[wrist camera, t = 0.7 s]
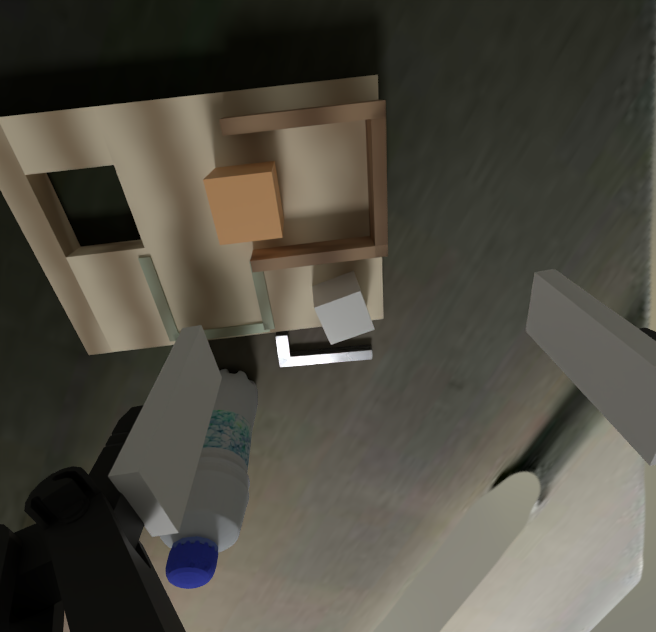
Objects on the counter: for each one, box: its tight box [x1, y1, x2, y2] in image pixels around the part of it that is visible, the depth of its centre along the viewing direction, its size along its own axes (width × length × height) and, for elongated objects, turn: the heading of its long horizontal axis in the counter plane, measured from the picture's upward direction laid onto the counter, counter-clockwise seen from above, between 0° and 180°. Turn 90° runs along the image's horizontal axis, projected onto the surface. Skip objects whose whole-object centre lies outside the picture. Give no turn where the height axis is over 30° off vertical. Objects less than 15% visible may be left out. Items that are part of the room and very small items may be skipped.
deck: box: [0, 75, 383, 355], centre depth 32 cm, size 28×20×3 cm
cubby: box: [219, 100, 388, 272], centre depth 28 cm, size 11×11×2 cm
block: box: [312, 271, 374, 345], centre depth 33 cm, size 4×4×4 cm
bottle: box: [160, 369, 258, 589], centre depth 34 cm, size 7×7×20 cm
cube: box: [203, 161, 284, 245], centre depth 27 cm, size 4×4×4 cm
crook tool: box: [276, 331, 372, 367], centre depth 40 cm, size 10×4×1 cm, turn 93°
